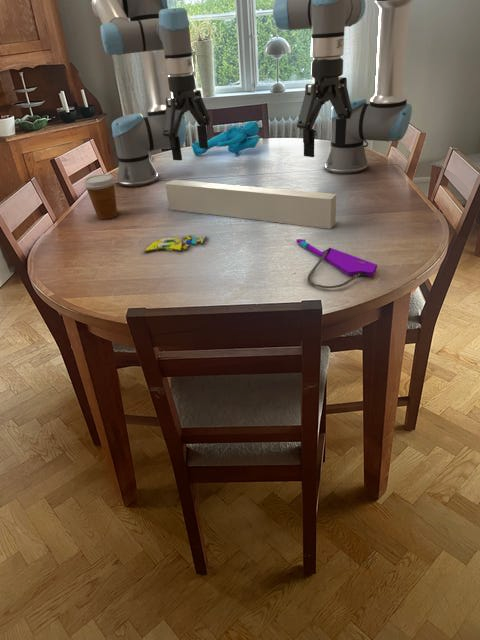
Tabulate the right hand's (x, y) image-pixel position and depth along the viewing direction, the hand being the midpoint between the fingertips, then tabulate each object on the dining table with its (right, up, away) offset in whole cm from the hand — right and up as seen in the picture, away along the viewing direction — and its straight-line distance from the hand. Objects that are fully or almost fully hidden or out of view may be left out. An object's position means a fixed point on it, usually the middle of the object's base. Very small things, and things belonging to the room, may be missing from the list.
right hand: (324, 150), depth 125 cm
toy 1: (-39, -24, +6) cm, 46 cm away
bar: (-20, -13, +20) cm, 31 cm away
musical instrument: (-2, -32, -12) cm, 34 cm away
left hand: (-37, +6, +19) cm, 42 cm away
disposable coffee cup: (-65, -11, +29) cm, 72 cm away
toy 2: (-28, +29, +85) cm, 94 cm away
